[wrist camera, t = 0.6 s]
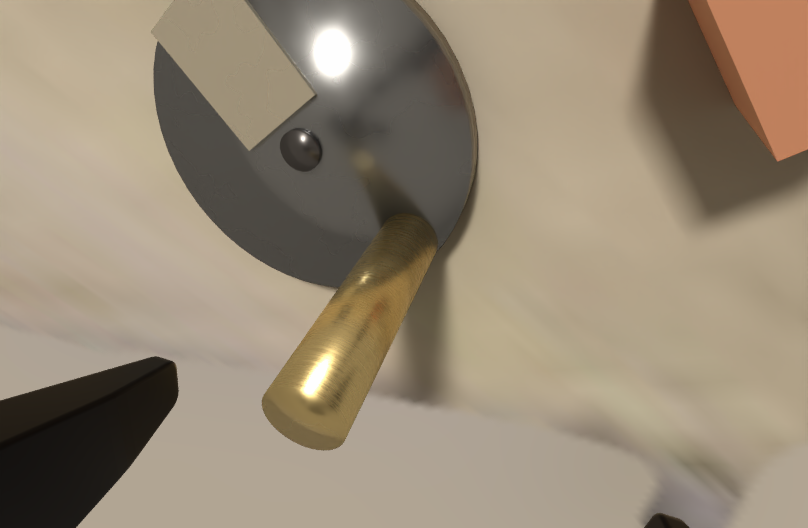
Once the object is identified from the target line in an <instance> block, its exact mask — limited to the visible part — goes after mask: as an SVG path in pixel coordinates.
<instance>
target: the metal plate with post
mask: <svg viewBox="0 0 808 528" xmlns="http://www.w3.org/2000/svg"><path fill="white" fill-rule="evenodd" d="M151 33H152V34H153V35H154V36H155V38H156V39H157V40H158V42H157V46H156V52H155V61H154V95H155V102H156V110H157V115H158V119H159V123H160V127H161V131H162V134H163V137H164V140H165V143H166V146H167V149H168V152H169V154H170V156H171V158H172V160H173V162H174V165H175V167H176V169H177V171H178V173H179V175H180V176H181V178H182V180H183V182H184V183H185V185H186V187H187V188H188V190H189V191H190V193H191V194H192V196H193V197H194V199H195V200H196V201H197V203H198V204H199V206H200V207H201V208H202V209H203V210H204V212H205V213H206V214H207V215H208V217H209V218H210V219H211V220H212V221H213V222H214V223H215V224H216V225H217V226H218V227H219V228H220V229H221V230H222V231H223V232H224V233H225V234H226V235H227V236H228V237H229V238H230V239H231V240H233V241H234V242H235V243H236V244H237V245H238V246H240V247H241V248H242V249H244V250H245V251H247V252H248V253H249V254H251V255H252V256H253V257H255V258H257V259H258V260H260V261H262V262H263V263H265V264H267V265H268V266H270V267H272V268H274V269H276V270H278V271H280V272H282V273H284V274H287V275H289V276H292V277H295V278H297V279H300V280H303V281H307V282H310V283H314V284H318V285H324V286H331V287H339V289H338V290H337V291H336V293H335V294H334V296H333V297H332V299H331V300H330V301H329V303H328V304H327V306H326V307H325V309H324V310H323V311H322V313H321V314H320V316H319V317H318V319H317V320H316V321H315V323H314V324H313V326H312V327H311V328H310V330H309V331H308V333H307V334H306V336H305V337H304V338H303V340H302V341H301V343H300V344H299V346H298V347H297V348H296V350H295V351H294V353H293V354H292V356H291V357H290V358H289V360H288V361H287V363H286V364H285V366H284V367H283V368H282V370H281V371H280V373H279V374H278V375H277V377H276V378H275V380H274V381H273V383H272V384H271V385H270V387H269V388H268V390H267V391H266V393H265V394H264V396H263V398H262V408H263V411H264V414H265V416H266V417H267V419H268V420H269V422H270V423H271V424H272V425H273V426H274V427H275V428H276V429H277V430H278V431H279V432H280V433H282V434H283V435H284V436H285V437H287V438H288V439H290V440H292V441H293V442H296V443H297V444H300V445H302V446H305V447H308V448H311V449H316V450H332V449H335V448H337V447H340V446H341V445H342V444H343V442H344V441H345V439H346V437H347V435H348V433H349V431H350V429H351V426H352V424H353V422H354V420H355V418H356V416H357V414H358V412H359V410H360V408H361V406H362V404H363V402H364V400H365V398H366V396H367V394H368V391H369V389H370V387H371V385H372V383H373V381H374V379H375V377H376V375H377V373H378V371H379V369H380V367H381V365H382V363H383V360H384V358H385V356H386V354H387V352H388V350H389V348H390V346H391V344H392V342H393V340H394V338H395V336H396V334H397V332H398V330H399V327H400V325H401V323H402V321H403V319H404V317H405V315H406V313H407V311H408V309H409V307H410V305H411V303H412V301H413V299H414V297H415V294H416V292H417V290H418V288H419V286H420V284H421V282H422V280H423V278H424V276H425V274H426V272H427V270H428V268H429V266H430V263H431V261H432V259H433V257H434V255H435V253H436V252H437V250H438V249H439V248H440V247H441V246H442V245H443V244H444V242H445V241H446V239H447V238H448V236H449V235H450V234H451V232H452V231H453V229H454V227H455V225H456V223H457V221H458V219H459V216H460V214H461V212H462V210H463V208H464V206H465V204H466V201H467V199H468V196H469V193H470V190H471V186H472V183H473V180H474V174H475V168H476V161H477V128H476V120H475V112H474V107H473V103H472V99H471V95H470V92H469V88H468V85H467V82H466V80H465V77H464V74H463V72H462V69H461V67H460V64H459V62H458V60H457V58H456V56H455V54H454V53H453V51H452V49H451V47H450V45H449V43H448V42H447V40H446V38H445V37H444V35H443V34H442V32H441V31H440V30H439V28H438V27H437V25H436V24H435V23H434V21H433V20H432V19H431V17H430V16H429V15H428V14H427V13H426V11H425V10H424V9H423V8H422V7H421V6H420V5H419V4H418V3H417V2H416V1H415V0H174V1H173V2H172V4H171V5H170V6H169V8H168V9H167V10H166V12H165V13H164V14H163V16H162V17H161V18H160V20H159V21H158V22H157V24H156V25H155V26H154V28H153V29H152V30H151Z"/></svg>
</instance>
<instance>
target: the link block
mask: <svg viewBox="0 0 808 528" xmlns="http://www.w3.org/2000/svg"><path fill="white" fill-rule="evenodd" d="M688 2H689V4H690V6H691V8H692V11H693V13H694V15H695V17H696V19H697V22H698V24H699V26H700V28H701V31H702V33H703V35H704V37H705V39H706V42H707V44H708V46H709V48H710V51H711V53H712V55H713V57H714V59H715V62H716V64H717V66H718V68H719V70H720V73H721V75H722V77H723V79H724V82H725V84H726V86H727V88H728V90H729V93H730V95H731V97H732V99H733V101H734V104H735V106H736V107H737V108H738V110H739V111H740V112H741V114H742V115H743V116H744V118H745V119H746V120H747V122H748V123H749V124H750V126H751V127H752V128H753V130H754V131H755V132H756V134H757V135H758V136H759V138H760V139H761V140H762V142H763V143H764V144H765V146H766V147H767V148H768V150H769V151H770V152H771V154H772V155H773V156H774V158H775V159H776V160H777V162H778V161H780V160H783V159H785V158H788V157H790V156H793V155H795V154H798V153H800V152H802V151H805V150H807V149H808V0H688Z"/></svg>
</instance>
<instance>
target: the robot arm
mask: <svg viewBox="0 0 808 528" xmlns="http://www.w3.org/2000/svg"><path fill="white" fill-rule="evenodd" d="M178 391H179V390H178V378H177V368H176V364H175V363H174V362H173V361H170V360H167V359H164V358H161V357H156V356H155V357H150V358H146V359H143V360H139V361H136V362H132V363H129V364H126V365H122V366H119V367H115V368H112V369H108V370H105V371H101V372H98V373H94V374H91V375H87V376H84V377H81V378H77V379H74V380H70V381H67V382H63V383H60V384H56V385H53V386H49V387H46V388H42V389H39V390H35V391H32V392H29V393H25V394H22V395H18V396H14V397H11V398H8V399H4V400H1V401H0V528H76V527H77V526H78V525H79V524H80V522H81V521H82V520H83V519H84V518H85V517H86V516H87V515H88V513H89V512H90V511H91V510H92V509H93V508H94V507H95V505H97V503H98V502H99V501H100V500H101V499H102V498H103V497H104V495H105V494H106V493H107V492H108V491H109V490H110V489H111V488H112V487H113V485H114V484H115V483H116V482H117V481H118V480H119V479H120V478H121V476H122V475H123V474H124V473H125V472H126V470H127V469H128V468H129V467H130V466H131V464H132V463H133V462H134V460H135V459H136V458H137V456H138V455H139V454H140V452H141V451H142V449H143V448H144V447H145V445H146V444H147V443H148V441H149V440H150V438H151V437H152V436H153V434H154V433H155V431H156V430H157V429H158V427H159V426H160V425H161V423H162V422H163V420H164V419H165V418H166V416H167V415H168V413H169V412H170V411H171V409H172V408H173V406H174V405H175V403H176V401H177V398H178ZM644 528H689V527H688V526H687V525H686V524H685V523H684V522H683V521H682V520H680V519H678V518H675V517H672V516H669V515H666V514H662V513H657V514H655V515H654V516H653V517H652V518H651V519H650V521H649V522H648V523H647V525H646V526H645V527H644Z"/></svg>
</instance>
